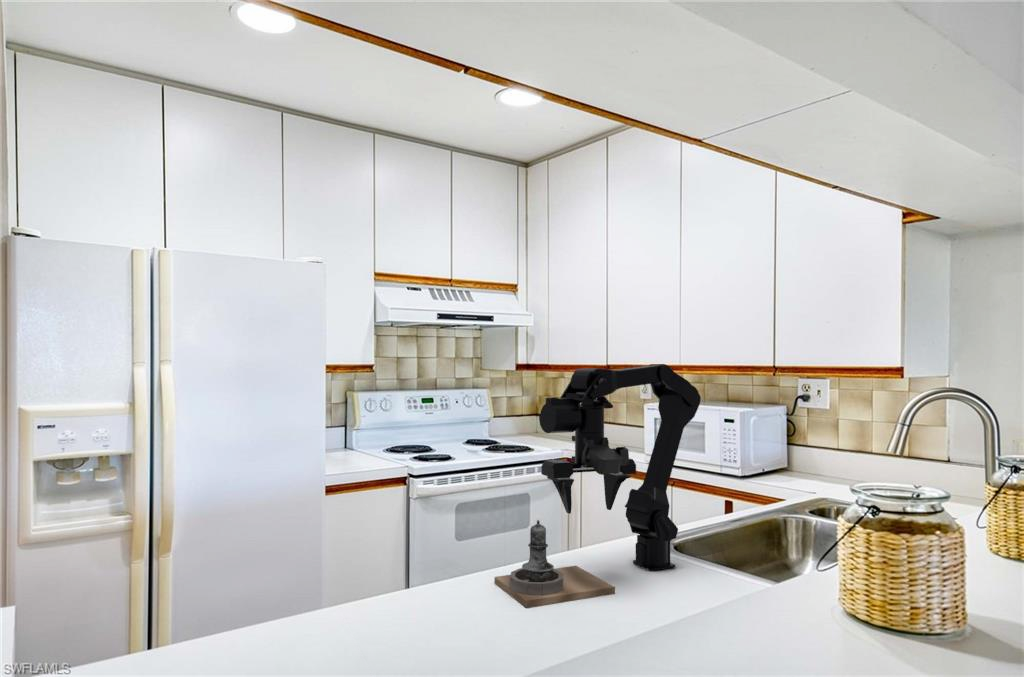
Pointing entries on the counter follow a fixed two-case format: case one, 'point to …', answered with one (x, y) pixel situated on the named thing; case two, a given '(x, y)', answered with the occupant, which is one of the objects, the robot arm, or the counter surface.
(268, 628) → the counter surface
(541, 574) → the salt shaker
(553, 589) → the board
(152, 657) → the counter surface
